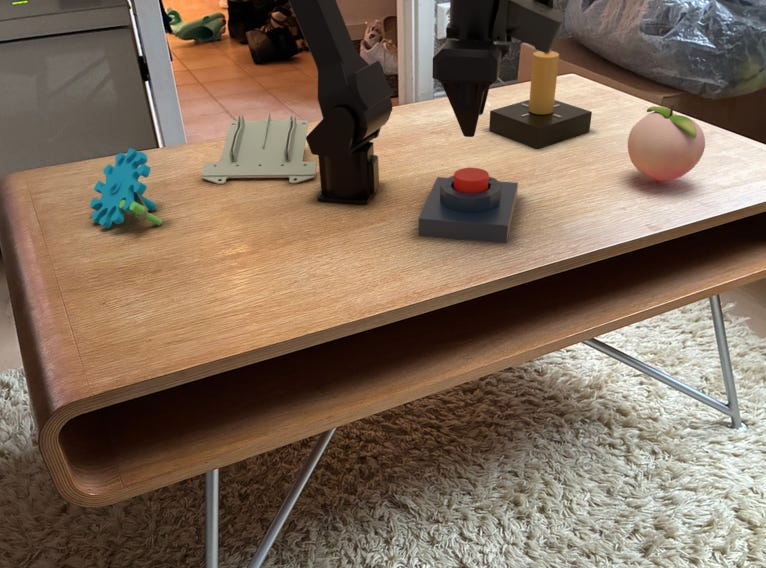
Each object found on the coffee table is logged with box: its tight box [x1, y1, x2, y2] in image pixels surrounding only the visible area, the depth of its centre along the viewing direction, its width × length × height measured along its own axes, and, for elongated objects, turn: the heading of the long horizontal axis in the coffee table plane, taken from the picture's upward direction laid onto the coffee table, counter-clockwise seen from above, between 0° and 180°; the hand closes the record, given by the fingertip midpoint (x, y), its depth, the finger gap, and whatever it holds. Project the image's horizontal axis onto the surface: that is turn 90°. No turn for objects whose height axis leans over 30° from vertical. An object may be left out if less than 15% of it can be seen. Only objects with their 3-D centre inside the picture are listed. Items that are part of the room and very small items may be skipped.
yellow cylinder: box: [528, 48, 560, 115], centre depth 109 cm, size 4×4×8 cm
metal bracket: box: [201, 111, 318, 185], centre depth 104 cm, size 14×6×15 cm
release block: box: [417, 174, 519, 244], centre depth 89 cm, size 12×10×4 cm
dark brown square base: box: [488, 99, 593, 150], centre depth 113 cm, size 11×10×3 cm
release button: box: [453, 167, 490, 194], centre depth 88 cm, size 4×4×2 cm
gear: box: [89, 147, 163, 229], centre depth 91 cm, size 11×6×10 cm
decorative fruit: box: [627, 103, 706, 184], centre depth 94 cm, size 9×8×10 cm
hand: (473, 125), depth 84 cm, fingers open, 7 cm apart
